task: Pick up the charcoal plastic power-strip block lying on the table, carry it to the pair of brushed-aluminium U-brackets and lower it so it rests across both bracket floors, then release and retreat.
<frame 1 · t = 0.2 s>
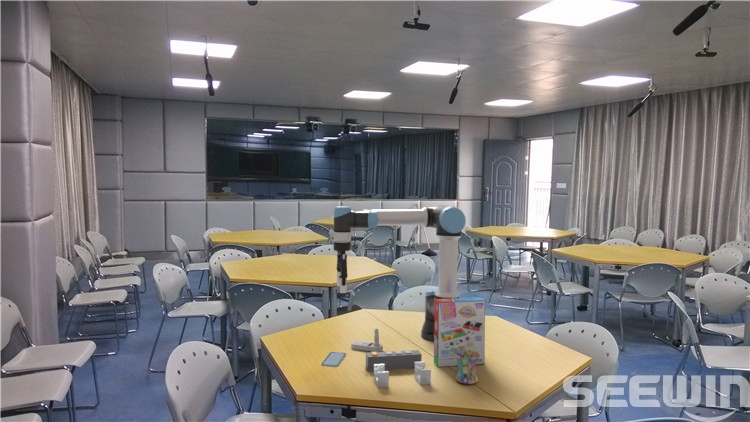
hand: (341, 289, 210), 28 cm above the table, fingers open, 13 cm apart
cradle: (401, 381, 180), on the table
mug: (466, 383, 179), on the table
electronic device: (366, 349, 215), on the table
smartphone: (333, 361, 201), on the table
game box: (458, 364, 199), on the table
power strip: (393, 368, 193), on the table
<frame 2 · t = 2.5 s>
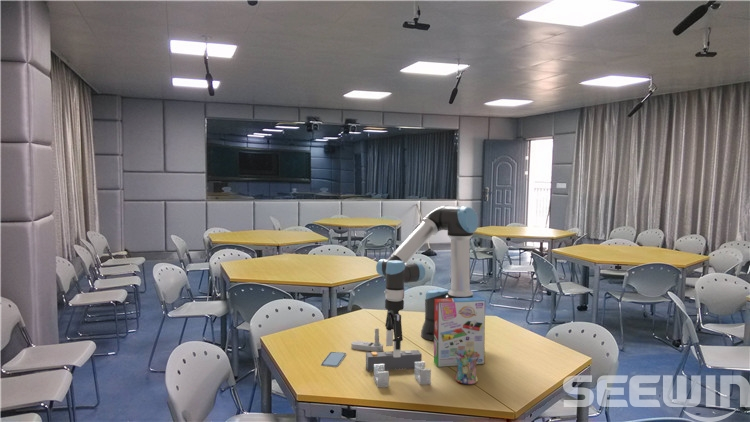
hand: (393, 351, 193), 7 cm above the table, fingers open, 13 cm apart
nothing on the table moved.
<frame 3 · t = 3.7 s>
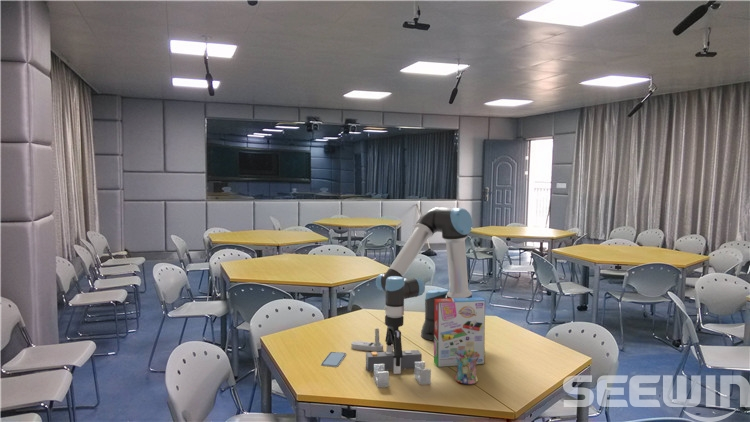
hand: (393, 367, 193), 0 cm above the table, fingers open, 13 cm apart
nothing on the table moved.
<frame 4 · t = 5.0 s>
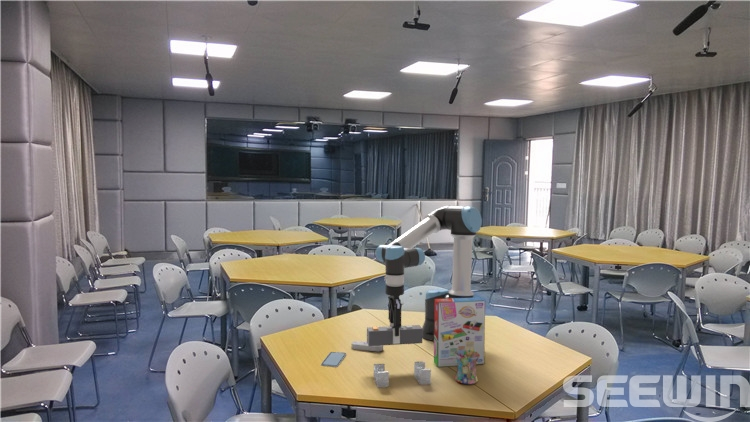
hand: (394, 340, 193), 11 cm above the table, fingers closed on power strip, 5 cm apart
power strip: (394, 342, 193), point 10 cm above the table, touching gripper
everything else where it was.
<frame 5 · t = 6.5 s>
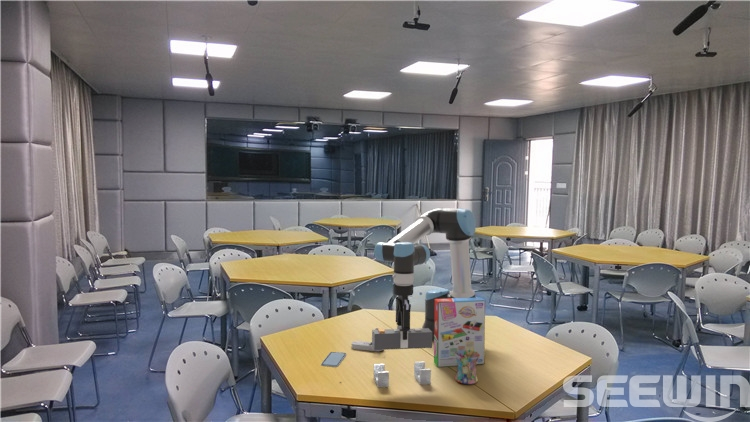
hand: (402, 345, 179), 14 cm above the table, fingers closed on power strip, 5 cm apart
power strip: (401, 346, 179), point 13 cm above the table, touching gripper
everything else where it was.
when the fingers open (2 cm above the table, at t = 8.5 s): power strip stays where it is, resting on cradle.
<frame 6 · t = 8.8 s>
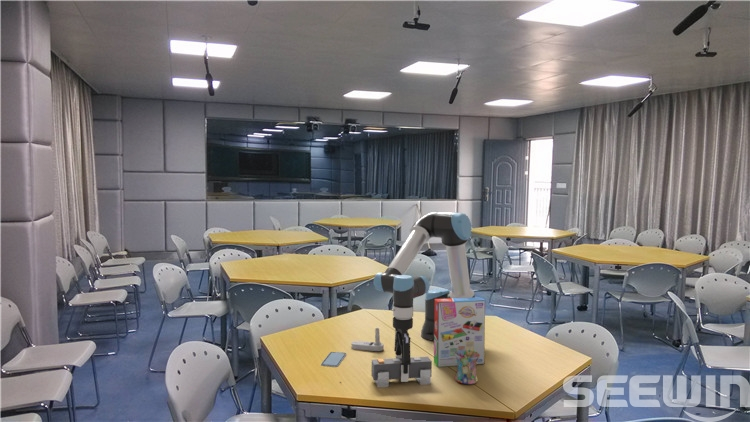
hand: (401, 376, 179), 2 cm above the table, fingers open, 8 cm apart
power strip: (401, 376, 179), point 2 cm above the table, touching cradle
everything else where it was.
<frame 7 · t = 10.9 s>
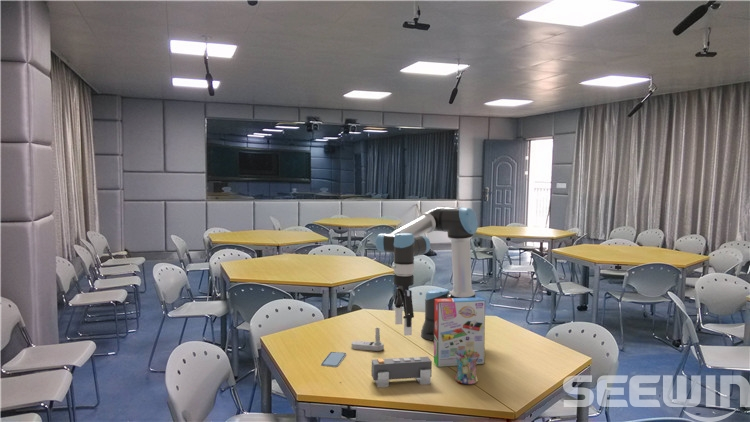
hand: (403, 329, 181), 19 cm above the table, fingers open, 13 cm apart
nothing on the table moved.
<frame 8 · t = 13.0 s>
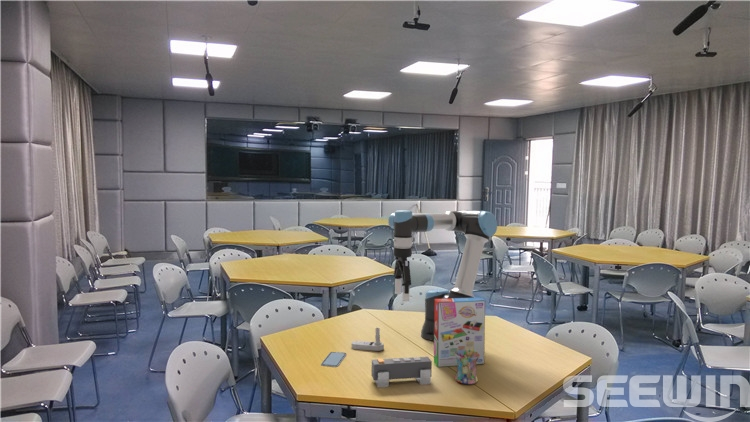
hand: (401, 297, 201), 27 cm above the table, fingers open, 13 cm apart
at the end: power strip 0.2 cm off-centre on the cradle, point 2.0 cm above the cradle's base; power strip tilted 0°; the gripper is holding nothing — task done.
